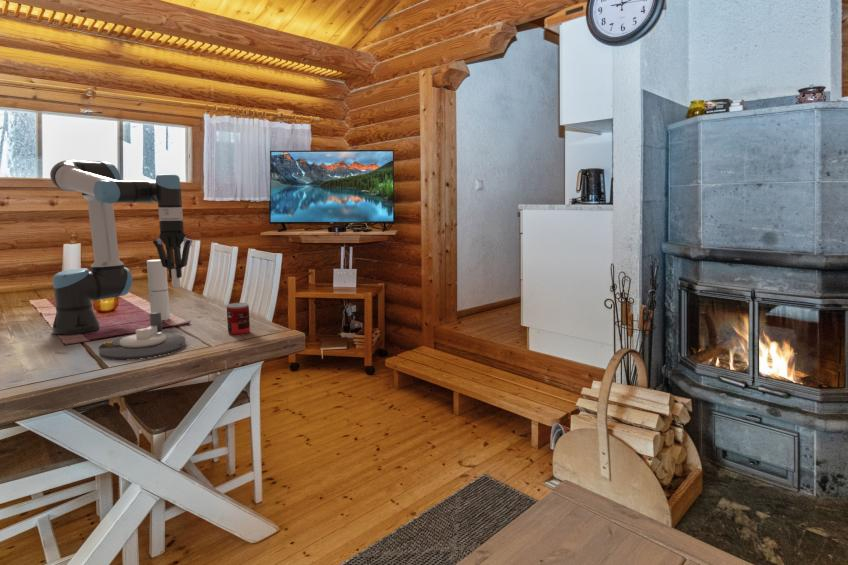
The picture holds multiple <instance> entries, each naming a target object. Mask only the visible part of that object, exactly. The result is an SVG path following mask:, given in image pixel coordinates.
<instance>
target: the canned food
mask: <svg viewBox="0 0 848 565" xmlns="http://www.w3.org/2000/svg"><path fill="white" fill-rule="evenodd" d="M226 319H227V320H226V321H227V333H228V334H229V336H243V335H242V334H245V335H248V334H250V332H251V328H250V325H251V324H250V306H249V303H247V302H234V303H233V302H232V303H228V304H227V305H226ZM247 333H248V334H247Z"/></svg>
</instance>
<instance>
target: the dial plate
mask: <svg viewBox="0 0 848 565" xmlns="http://www.w3.org/2000/svg"><path fill="white" fill-rule="evenodd" d="M158 333H159V334H164V335H166V341H165V342H163V343H160V344H157V345H153V346H147V347H137V348H128V347H122V346H120V342H119V341H120V340H121V339H122V338H125V337H128V336H129V335H128V336H127V335H126V336H124V337H117V338H114V339H111V340H107V341H104V342H103V343H102V344H101V345H99V346H98V353H99V356H100V357H101V358H103V359H106V358H107V359H108V360H113V359H115V361H128V360H127V359H135V360H141V359H140V358H145V359H149V358H148V357H152V358H155V357H154V356H157V357H160V356H159V355H162V356H165V355H164V354H166V355H169V354H168V353H170V354H173V353H176V352H178V351H180V350H182V349H184V348H185V347H186V344H187V343H186V337H185V336H184V335H182V334H178V333H171V332H163V331H161V332H158ZM175 351H176V352H175ZM172 352H173V353H172Z"/></svg>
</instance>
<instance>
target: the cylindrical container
mask: <svg viewBox="0 0 848 565" xmlns="http://www.w3.org/2000/svg"><path fill="white" fill-rule="evenodd" d="M146 267H147V280H148V281H147V282H148V292H149V293H148V294H149V306H150V313H154V312H160V313H161V320H165V321H168V320H167V319H169V320H171V312H170V310H171V309H170V299H169V296H170V295H169V282H168V272H167V271H168V270H167V269H168V268H166V267H163V266H162V263H161V260H160V258H159V259H149V260H146Z"/></svg>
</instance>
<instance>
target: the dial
mask: <svg viewBox="0 0 848 565" xmlns="http://www.w3.org/2000/svg"><path fill="white" fill-rule="evenodd" d="M149 321H150V322H149V323H150V325H149V326H148V327H146V328H137V329H135V334H134V335H128V337H127V336H124V337H125V338H122V337H121V338H122V339H121V340H120V341H119V342H120V346H122V347H128V348H137V347H147V346H153V345H157V344H160V343H163V342H165V341H166V335H164V334H159V332H163V321H162V320H161V313H160V312H154V313H151V312H150V313H149Z"/></svg>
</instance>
